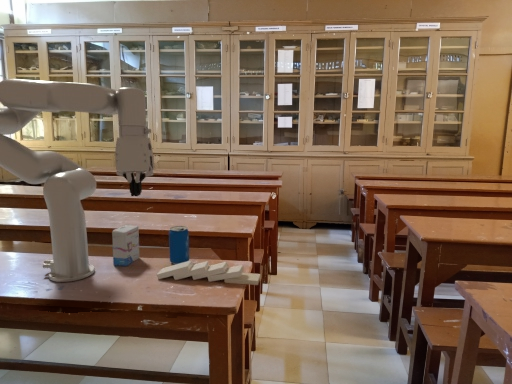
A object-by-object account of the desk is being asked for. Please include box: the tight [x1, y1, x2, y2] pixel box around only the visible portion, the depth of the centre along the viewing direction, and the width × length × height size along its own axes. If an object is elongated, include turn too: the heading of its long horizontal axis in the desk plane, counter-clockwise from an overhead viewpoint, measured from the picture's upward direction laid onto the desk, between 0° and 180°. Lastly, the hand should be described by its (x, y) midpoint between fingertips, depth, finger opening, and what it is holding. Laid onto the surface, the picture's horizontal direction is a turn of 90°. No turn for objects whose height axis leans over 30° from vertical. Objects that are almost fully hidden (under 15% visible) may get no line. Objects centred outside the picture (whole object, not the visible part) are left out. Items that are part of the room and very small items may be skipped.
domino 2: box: [172, 260, 210, 281], centre depth 106 cm, size 2×5×10 cm
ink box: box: [111, 224, 140, 267], centre depth 117 cm, size 9×5×12 cm, turn 168°
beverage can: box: [168, 225, 190, 265], centre depth 117 cm, size 6×6×12 cm
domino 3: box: [191, 261, 229, 281], centre depth 105 cm, size 2×5×10 cm
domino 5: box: [224, 272, 261, 286], centre depth 104 cm, size 2×5×10 cm
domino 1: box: [156, 259, 194, 280], centre depth 106 cm, size 2×5×10 cm
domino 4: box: [207, 264, 245, 283], centre depth 104 cm, size 2×5×10 cm
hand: (136, 195), depth 103 cm, fingers closed
